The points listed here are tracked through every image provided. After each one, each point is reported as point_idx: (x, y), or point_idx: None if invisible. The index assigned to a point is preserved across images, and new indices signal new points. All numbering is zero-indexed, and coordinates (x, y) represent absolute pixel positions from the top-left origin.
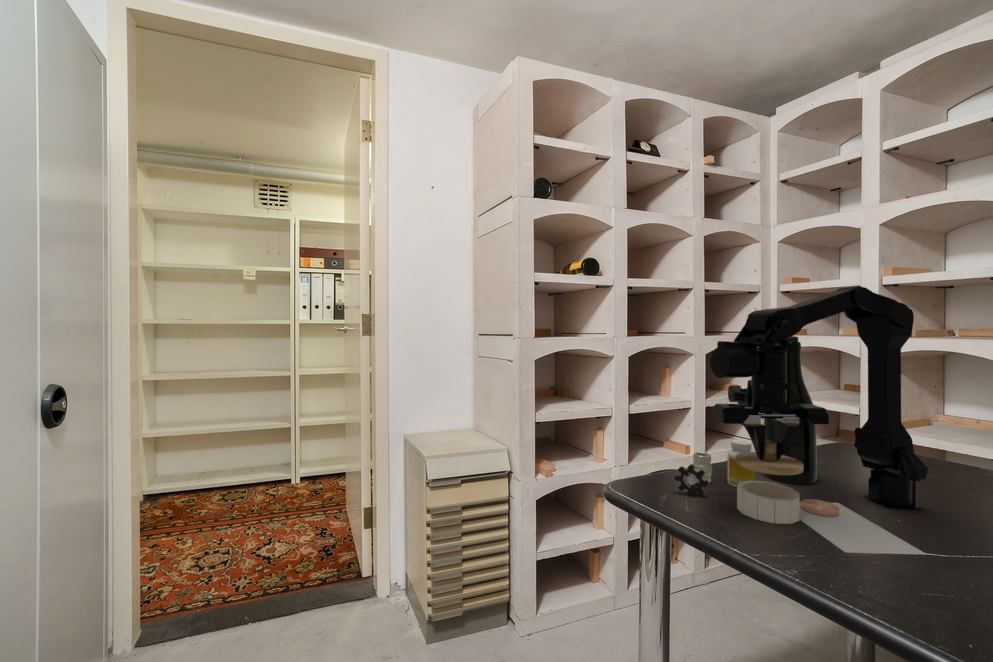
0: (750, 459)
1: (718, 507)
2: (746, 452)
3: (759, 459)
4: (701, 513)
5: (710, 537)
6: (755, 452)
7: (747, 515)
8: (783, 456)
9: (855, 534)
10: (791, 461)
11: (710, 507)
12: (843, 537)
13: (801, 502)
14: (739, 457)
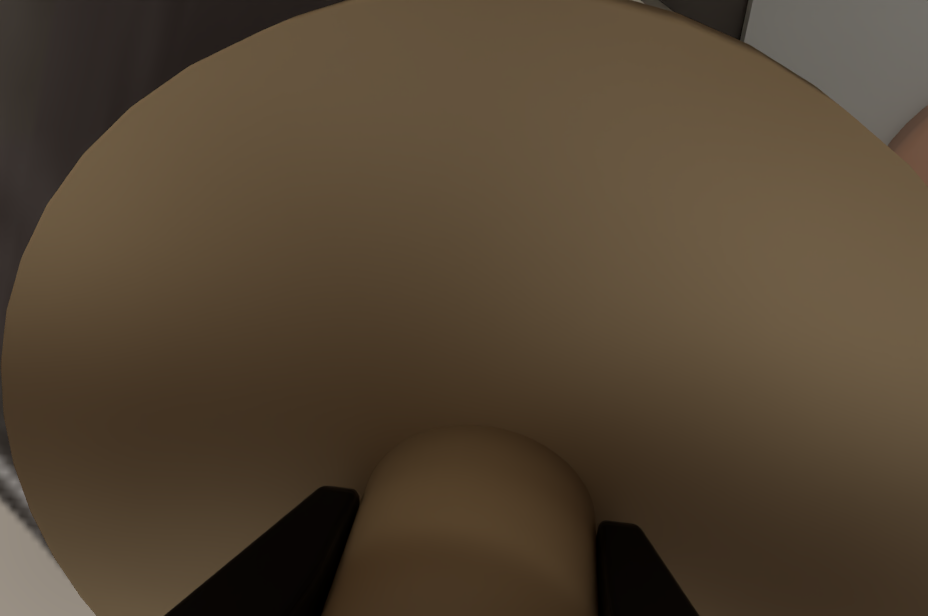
0: (201, 470)
1: (169, 55)
2: (314, 51)
3: (349, 480)
4: (10, 170)
5: (11, 475)
6: (521, 66)
7: None
8: (925, 380)
9: None
10: (809, 612)
11: (102, 53)
12: None
13: (920, 154)
14: (58, 366)
